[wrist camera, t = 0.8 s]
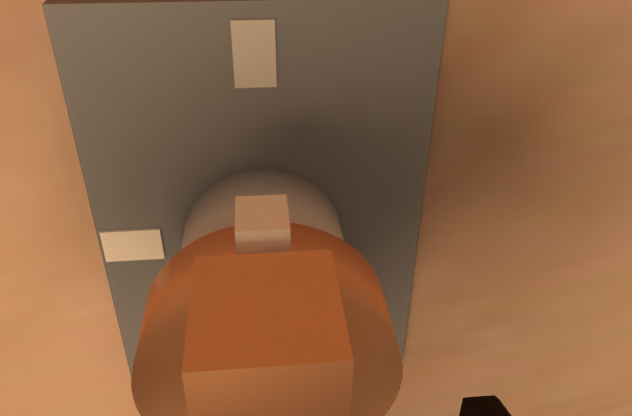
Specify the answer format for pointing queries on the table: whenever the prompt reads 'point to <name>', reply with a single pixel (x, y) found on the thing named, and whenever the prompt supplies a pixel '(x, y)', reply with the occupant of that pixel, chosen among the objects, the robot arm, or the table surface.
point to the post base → (249, 125)
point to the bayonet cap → (266, 325)
